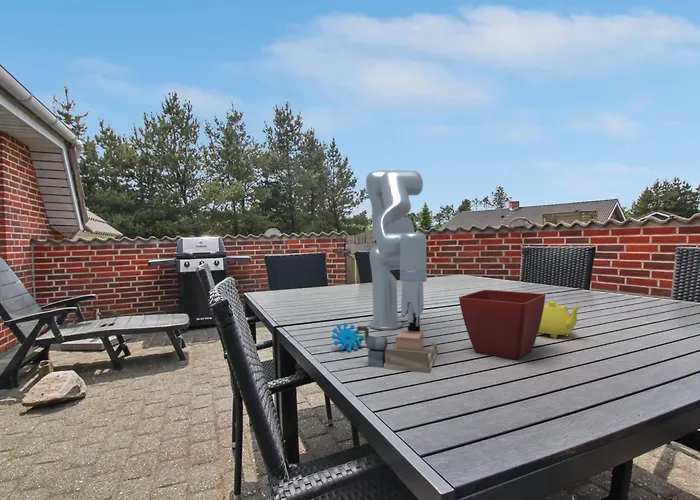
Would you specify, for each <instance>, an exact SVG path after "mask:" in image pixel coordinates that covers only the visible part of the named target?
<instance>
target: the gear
mask: <svg viewBox="0 0 700 500" xmlns="http://www.w3.org/2000/svg"><path fill="white" fill-rule="evenodd" d="M348 325H349V323H347V322H344V323H343V328H342V324H339V323H338V324H337V325H336V327H334V328H333V329H332V335H331V339H332V340H334V341H333V345H334V346H338V345H340V344H341V345H340V346H339V350H340V351H343V350H344V349H345V347H347V348H346V352H348V353H351V351H352V350H353V351H357V350H358V349H359V347H361V345H362V344H363V340H364V339H365V333H364V334H361V335H360V332H361V331H358V330H357V329H355V327H356V326H355V325H354V324H350V326H349V328H347V327H348ZM354 329H355V330H354ZM338 330H339V331H338ZM352 346H353V348H352Z"/></svg>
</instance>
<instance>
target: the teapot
mask: <svg viewBox="0 0 700 500" xmlns="http://www.w3.org/2000/svg"><path fill="white" fill-rule="evenodd" d="M581 308H582V306H578V307H574V308H573V309H572V310H571V314H570V312H569V309H568V307H567V306H566V305H563V304H562V305H558V304H557V301H547V304H544V309H543V314H542V319H541V323H540V327H539V331H538V334H543V335H544V334H549V335H550V338H551V337H553V338H557V337H558V338H559V335H560V336H562V335H565V336H564V337H568V336H567V335H569V334H570V333H571V332H572V331H573V330H574V329H575V326H576V325H577V323H578V311H579V310H580V309H581ZM553 338H552V339H553Z"/></svg>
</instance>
